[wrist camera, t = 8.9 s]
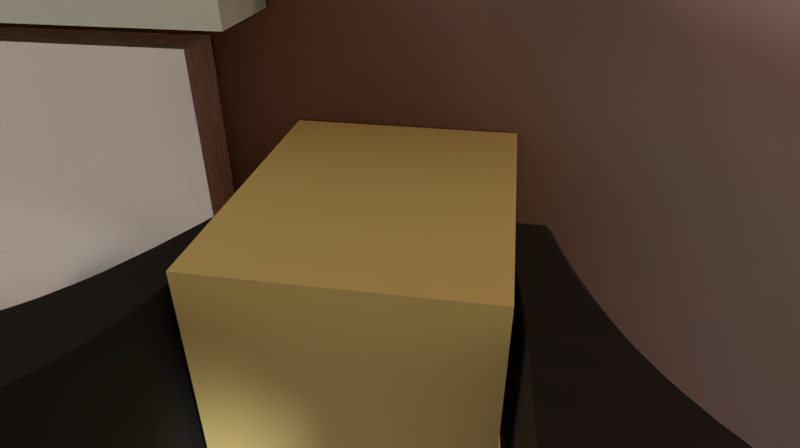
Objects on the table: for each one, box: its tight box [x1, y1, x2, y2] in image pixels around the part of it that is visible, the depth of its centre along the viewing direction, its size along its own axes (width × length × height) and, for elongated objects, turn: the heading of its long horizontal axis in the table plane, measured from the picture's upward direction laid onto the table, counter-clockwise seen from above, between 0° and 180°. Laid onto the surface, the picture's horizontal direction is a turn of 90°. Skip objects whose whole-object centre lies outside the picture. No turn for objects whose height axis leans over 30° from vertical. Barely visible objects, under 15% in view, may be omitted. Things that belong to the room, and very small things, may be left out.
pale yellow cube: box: [166, 120, 517, 448], centre depth 10 cm, size 4×4×5 cm
